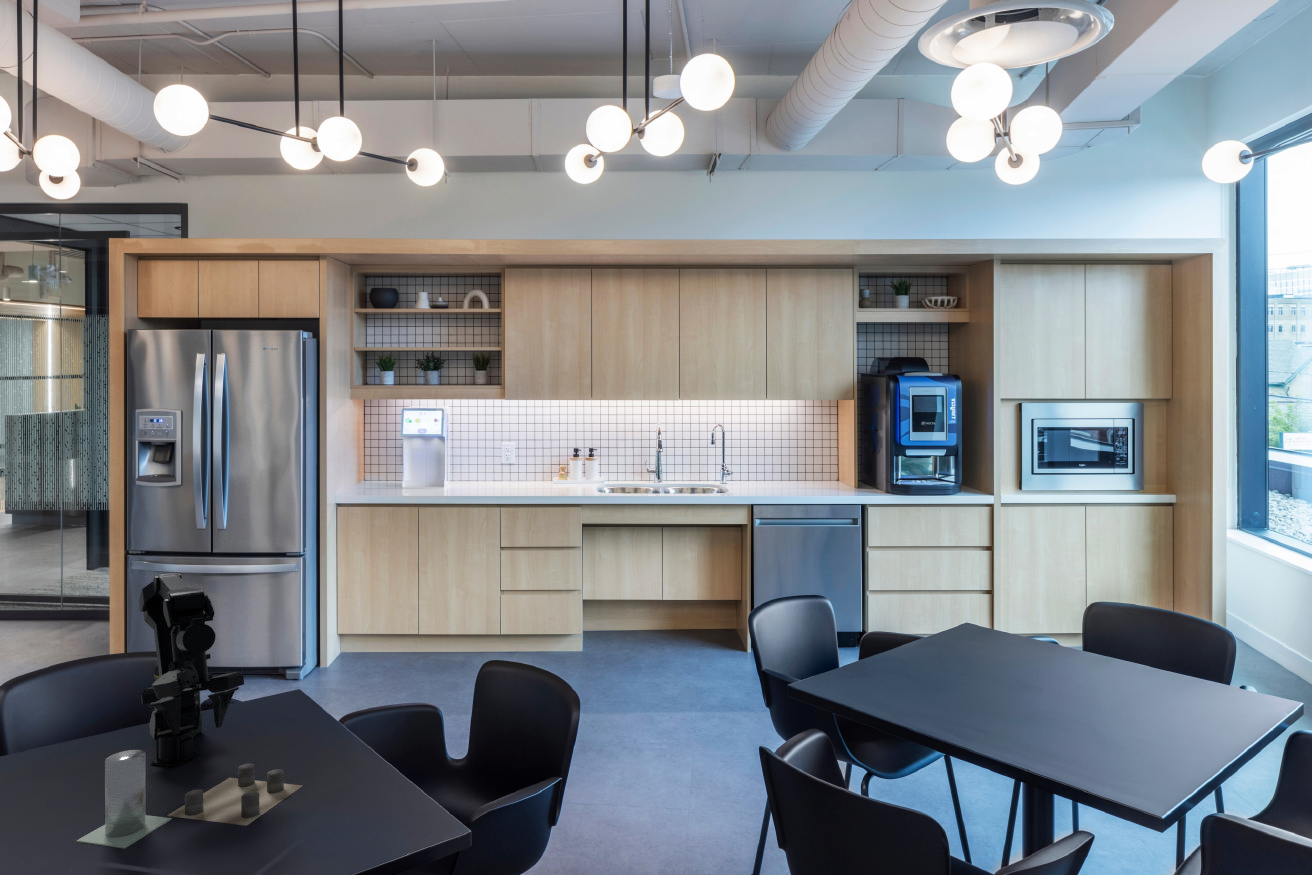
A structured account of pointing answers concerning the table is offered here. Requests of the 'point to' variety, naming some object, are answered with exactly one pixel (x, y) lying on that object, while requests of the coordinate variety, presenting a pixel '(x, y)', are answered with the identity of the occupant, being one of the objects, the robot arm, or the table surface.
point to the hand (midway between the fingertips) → (197, 730)
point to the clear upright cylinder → (125, 793)
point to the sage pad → (123, 842)
